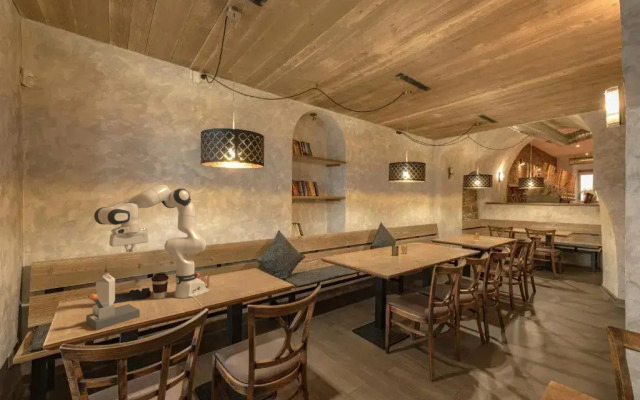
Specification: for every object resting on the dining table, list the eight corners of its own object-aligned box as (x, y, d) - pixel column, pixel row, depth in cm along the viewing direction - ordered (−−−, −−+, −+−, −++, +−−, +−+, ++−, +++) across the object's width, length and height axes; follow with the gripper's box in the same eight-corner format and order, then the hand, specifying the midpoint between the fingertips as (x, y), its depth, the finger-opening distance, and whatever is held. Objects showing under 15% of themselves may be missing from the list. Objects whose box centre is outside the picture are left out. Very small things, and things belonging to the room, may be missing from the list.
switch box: (128, 310, 170) (128, 295, 170) (139, 316, 162) (139, 300, 162) (86, 322, 154) (86, 305, 154) (96, 330, 146) (96, 312, 146)
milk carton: (95, 307, 175) (95, 275, 174) (102, 303, 182) (102, 272, 181) (109, 306, 176) (109, 275, 176) (115, 302, 183) (115, 272, 183)
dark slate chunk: (111, 297, 192) (111, 290, 192) (149, 292, 204) (149, 285, 204) (110, 305, 179) (110, 297, 179) (151, 298, 192) (151, 291, 192)
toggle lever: (106, 309, 156) (93, 292, 152) (109, 311, 155) (96, 293, 150) (100, 314, 154) (87, 296, 150) (103, 315, 152) (89, 297, 148)
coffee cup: (161, 300, 187) (161, 277, 187) (147, 299, 189) (147, 276, 189) (171, 295, 197) (172, 273, 196) (159, 294, 199) (159, 272, 198)
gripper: (145, 227, 186) (145, 249, 186) (108, 230, 169) (107, 254, 169) (150, 228, 182) (150, 250, 182) (112, 231, 165) (112, 255, 165)
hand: (129, 252), depth 175 cm, fingers closed
